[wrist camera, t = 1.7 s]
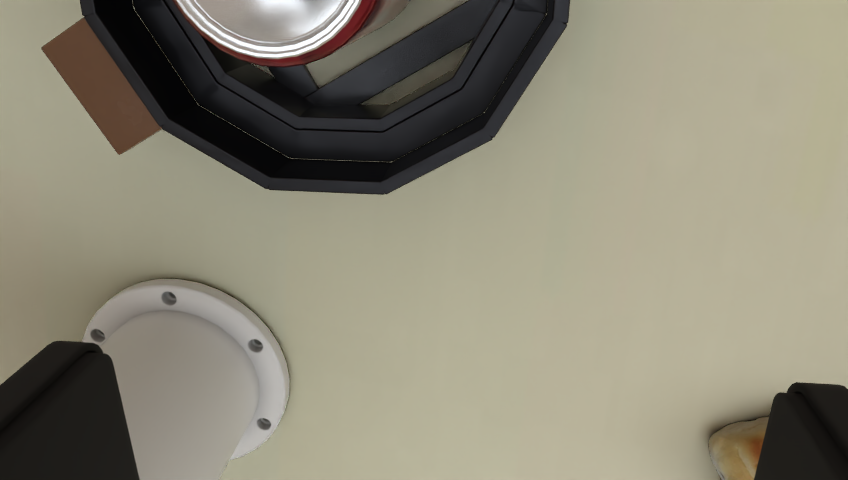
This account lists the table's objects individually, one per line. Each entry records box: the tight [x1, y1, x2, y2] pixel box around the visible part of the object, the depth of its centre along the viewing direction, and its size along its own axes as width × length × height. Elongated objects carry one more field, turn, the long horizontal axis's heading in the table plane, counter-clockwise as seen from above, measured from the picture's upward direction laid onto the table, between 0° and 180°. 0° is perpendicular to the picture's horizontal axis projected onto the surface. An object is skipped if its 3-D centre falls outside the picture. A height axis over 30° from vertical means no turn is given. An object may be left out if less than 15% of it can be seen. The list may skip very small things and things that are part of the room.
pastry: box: [709, 416, 769, 480], centre depth 36 cm, size 9×7×4 cm
